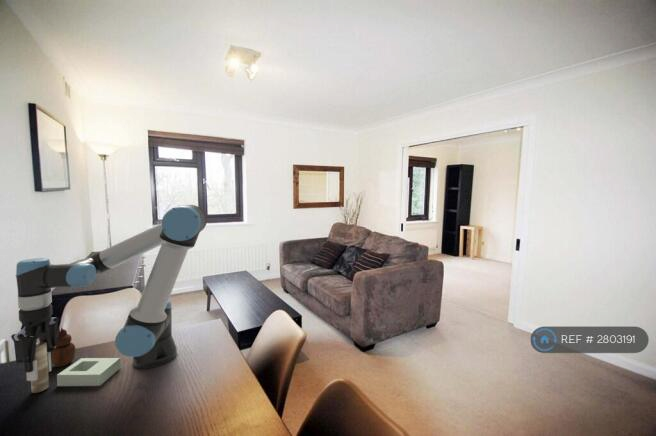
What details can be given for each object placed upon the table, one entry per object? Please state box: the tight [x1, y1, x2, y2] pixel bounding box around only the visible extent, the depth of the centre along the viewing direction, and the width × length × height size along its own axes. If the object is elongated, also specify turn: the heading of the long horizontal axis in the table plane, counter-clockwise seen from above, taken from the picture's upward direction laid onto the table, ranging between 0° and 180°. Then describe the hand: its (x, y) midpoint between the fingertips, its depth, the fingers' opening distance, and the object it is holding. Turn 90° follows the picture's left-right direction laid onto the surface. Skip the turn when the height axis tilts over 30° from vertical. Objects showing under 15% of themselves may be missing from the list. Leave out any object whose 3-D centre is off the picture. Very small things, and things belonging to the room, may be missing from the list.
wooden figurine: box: [51, 327, 76, 368], centre depth 106 cm, size 7×6×15 cm
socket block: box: [56, 357, 121, 387], centre depth 100 cm, size 14×10×4 cm
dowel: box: [30, 341, 50, 394], centre depth 92 cm, size 4×4×15 cm
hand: (39, 375), depth 92 cm, fingers closed on dowel, 4 cm apart
